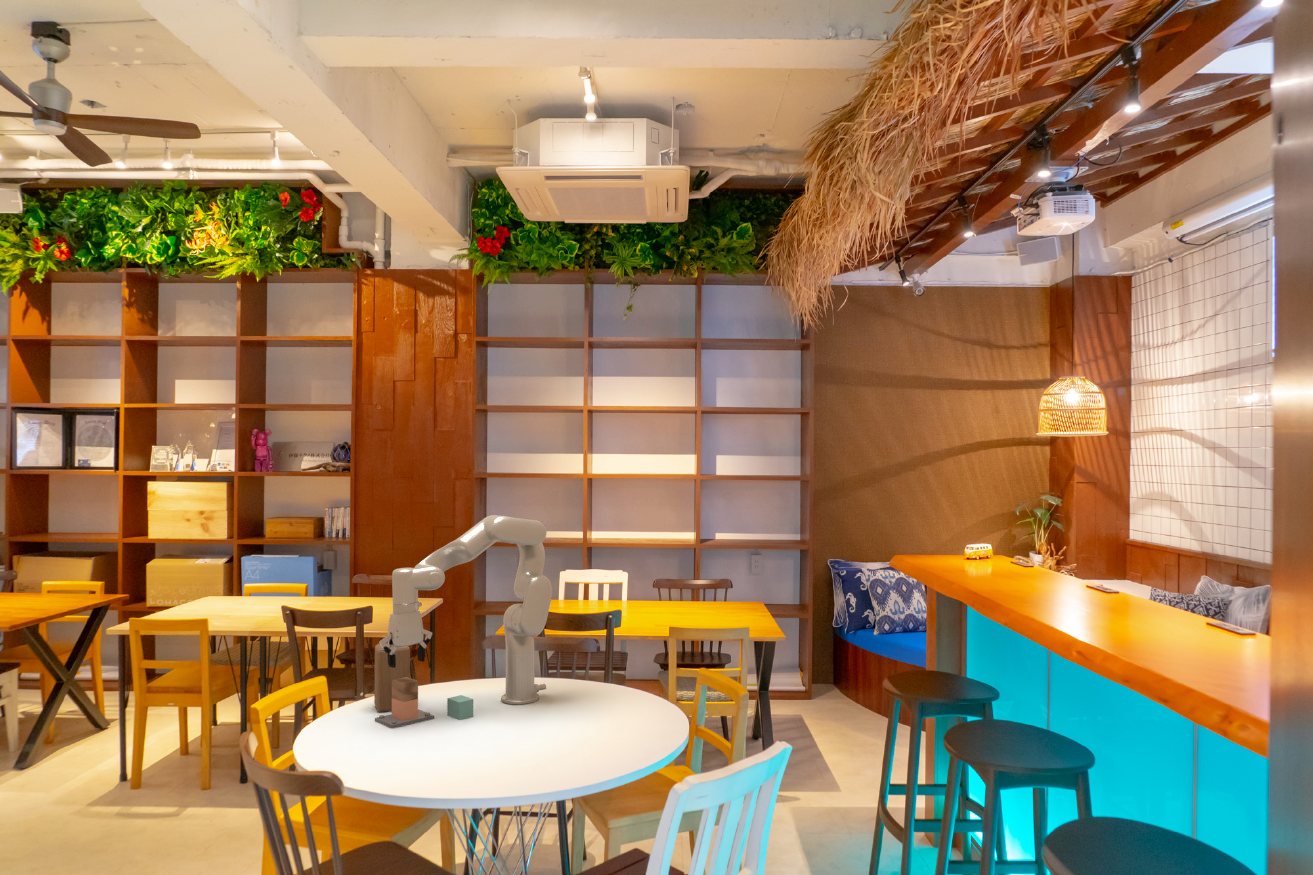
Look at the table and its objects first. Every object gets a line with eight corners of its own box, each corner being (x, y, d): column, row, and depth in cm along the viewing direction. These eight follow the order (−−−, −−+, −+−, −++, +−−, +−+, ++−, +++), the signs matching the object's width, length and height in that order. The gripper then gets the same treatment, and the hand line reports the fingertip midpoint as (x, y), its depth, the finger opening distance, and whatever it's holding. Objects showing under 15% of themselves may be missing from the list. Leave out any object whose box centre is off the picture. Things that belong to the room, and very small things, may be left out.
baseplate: (416, 711, 263) (416, 690, 263) (434, 718, 255) (434, 697, 255) (374, 721, 253) (374, 699, 253) (391, 728, 245) (392, 706, 245)
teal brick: (461, 712, 262) (461, 695, 262) (473, 717, 257) (473, 699, 257) (447, 715, 258) (447, 698, 258) (459, 720, 253) (459, 702, 253)
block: (374, 705, 271) (374, 643, 272) (405, 701, 275) (405, 641, 276) (377, 713, 261) (378, 649, 262) (410, 709, 266) (410, 646, 267)
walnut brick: (406, 694, 259) (406, 676, 259) (418, 698, 254) (418, 680, 254) (391, 697, 255) (391, 679, 255) (403, 702, 250) (403, 683, 250)
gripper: (424, 603, 264) (426, 657, 264) (373, 611, 252) (374, 667, 252) (436, 605, 259) (438, 660, 259) (385, 613, 247) (386, 671, 246)
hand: (406, 663), depth 255 cm, fingers open, 9 cm apart
